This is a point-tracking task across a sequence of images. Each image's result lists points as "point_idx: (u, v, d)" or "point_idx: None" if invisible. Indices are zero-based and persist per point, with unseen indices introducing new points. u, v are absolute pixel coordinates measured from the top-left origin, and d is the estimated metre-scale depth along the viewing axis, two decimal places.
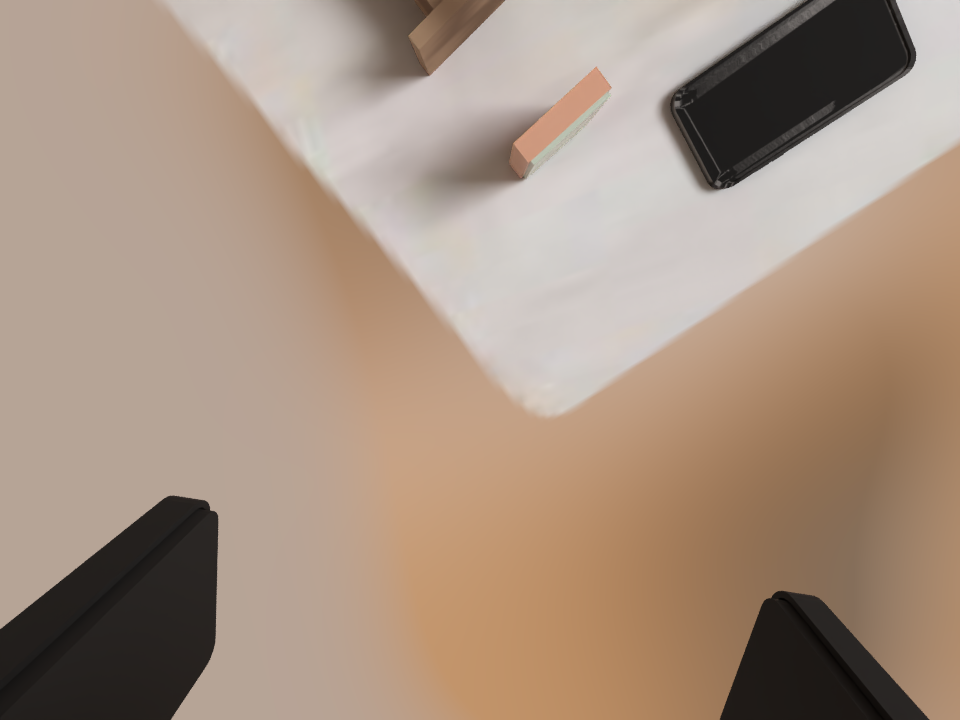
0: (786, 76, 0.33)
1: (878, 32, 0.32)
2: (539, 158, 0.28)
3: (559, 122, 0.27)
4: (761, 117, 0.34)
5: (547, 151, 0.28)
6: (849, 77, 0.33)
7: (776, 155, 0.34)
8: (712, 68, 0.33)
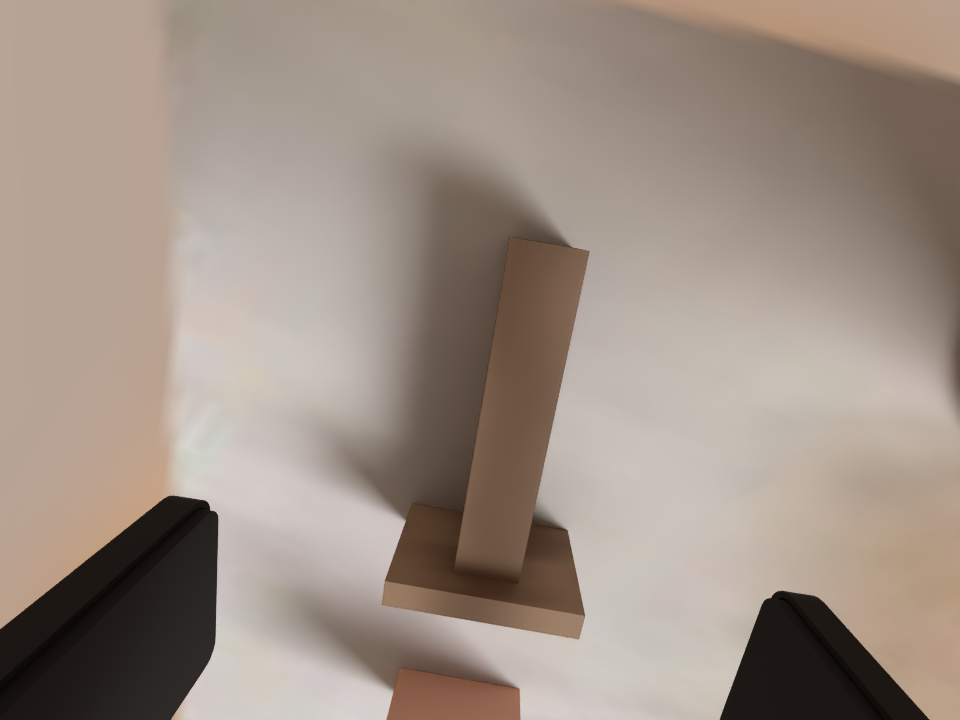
0: None
1: None
2: None
3: None
4: None
5: None
6: None
7: None
8: None
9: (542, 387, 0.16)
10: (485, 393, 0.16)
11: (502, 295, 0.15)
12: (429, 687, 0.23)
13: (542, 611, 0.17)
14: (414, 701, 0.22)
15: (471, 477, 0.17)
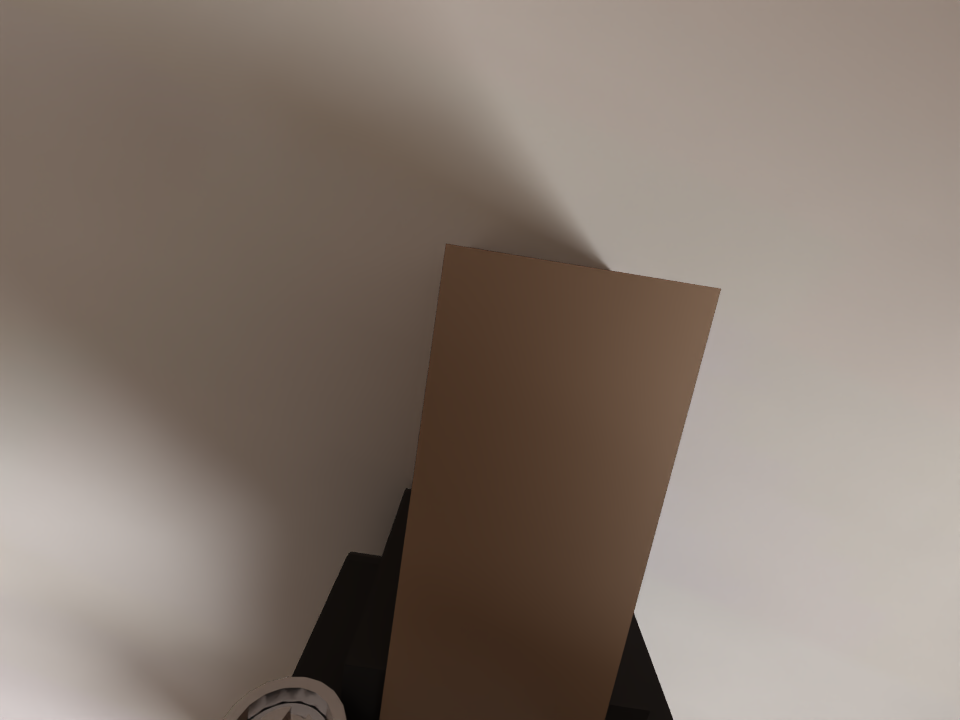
0: None
1: None
2: None
3: None
4: None
5: None
6: None
7: None
8: None
9: (556, 696, 0.05)
10: (384, 709, 0.05)
11: (424, 434, 0.04)
12: None
13: None
14: None
15: None
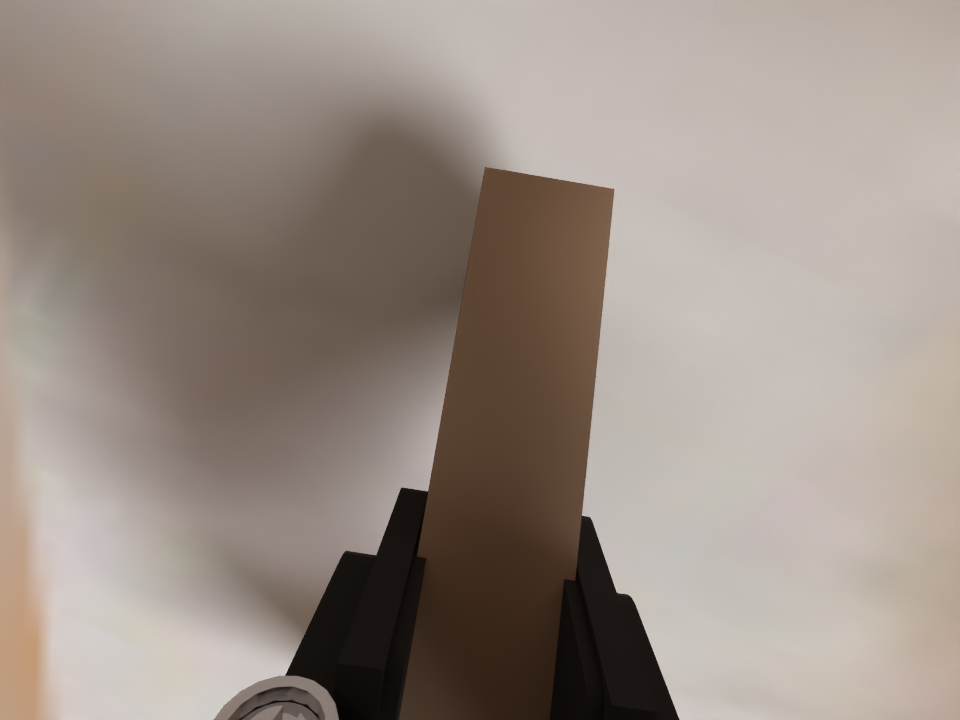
0: None
1: None
2: None
3: None
4: None
5: None
6: None
7: None
8: None
9: (555, 425, 0.08)
10: (439, 441, 0.08)
11: (472, 253, 0.08)
12: None
13: None
14: None
15: None
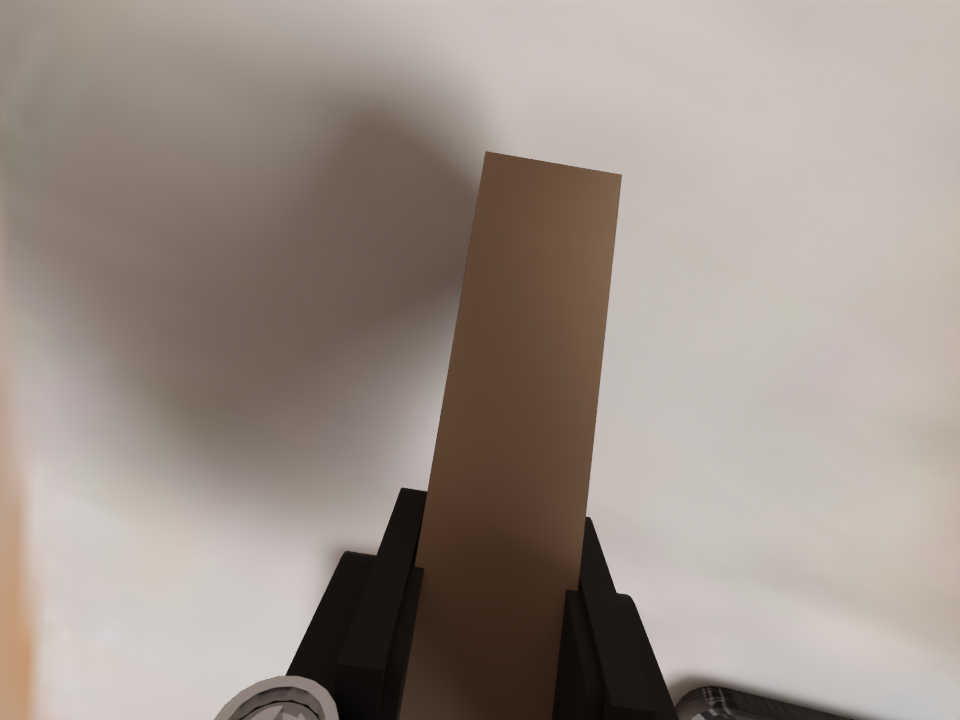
0: None
1: None
2: None
3: None
4: None
5: None
6: None
7: None
8: None
9: (559, 424, 0.07)
10: (439, 441, 0.07)
11: (473, 243, 0.08)
12: None
13: None
14: None
15: None
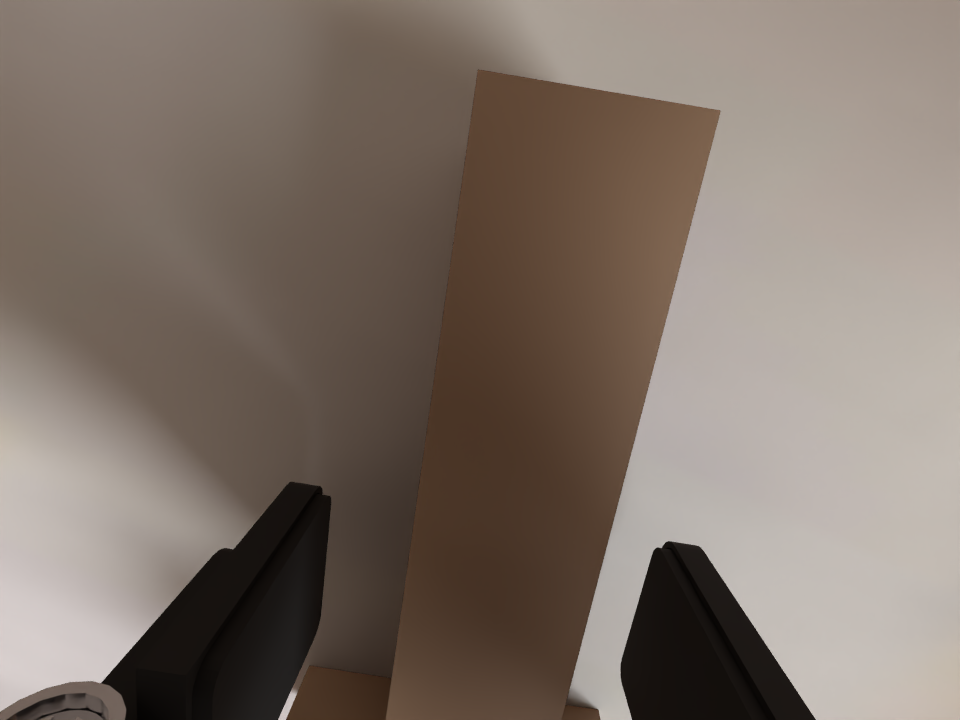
0: None
1: None
2: None
3: None
4: None
5: None
6: None
7: None
8: None
9: (570, 502, 0.06)
10: (418, 518, 0.06)
11: (456, 251, 0.05)
12: None
13: None
14: None
15: (391, 711, 0.07)
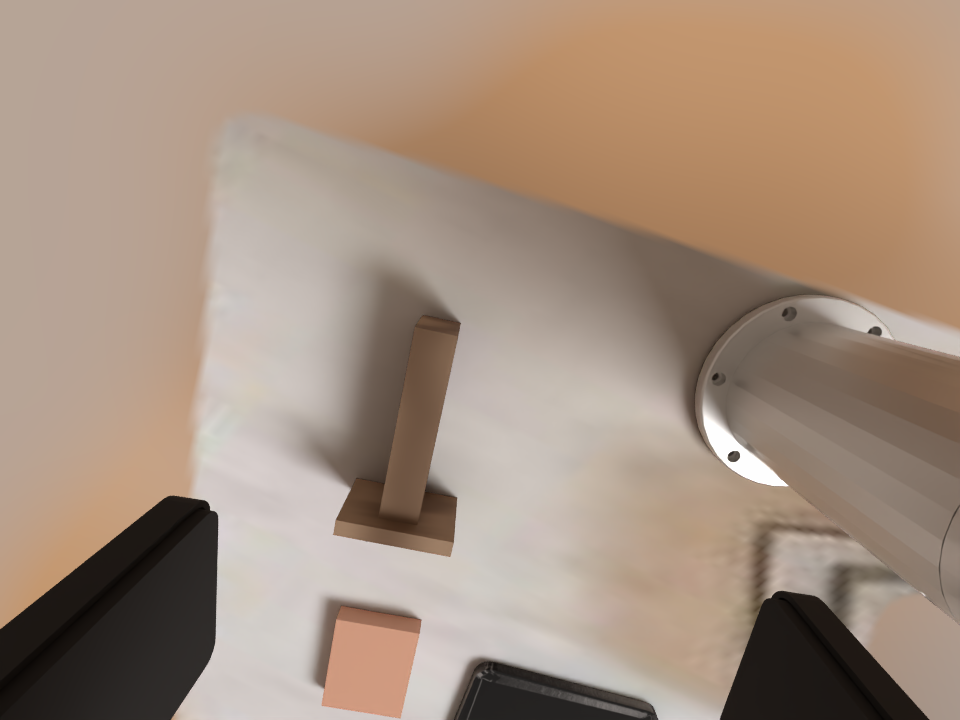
0: None
1: None
2: None
3: None
4: None
5: None
6: None
7: None
8: (520, 678, 0.36)
9: (432, 409, 0.27)
10: (399, 411, 0.27)
11: (409, 357, 0.27)
12: (357, 631, 0.34)
13: (428, 539, 0.28)
14: (347, 639, 0.35)
15: (390, 460, 0.28)
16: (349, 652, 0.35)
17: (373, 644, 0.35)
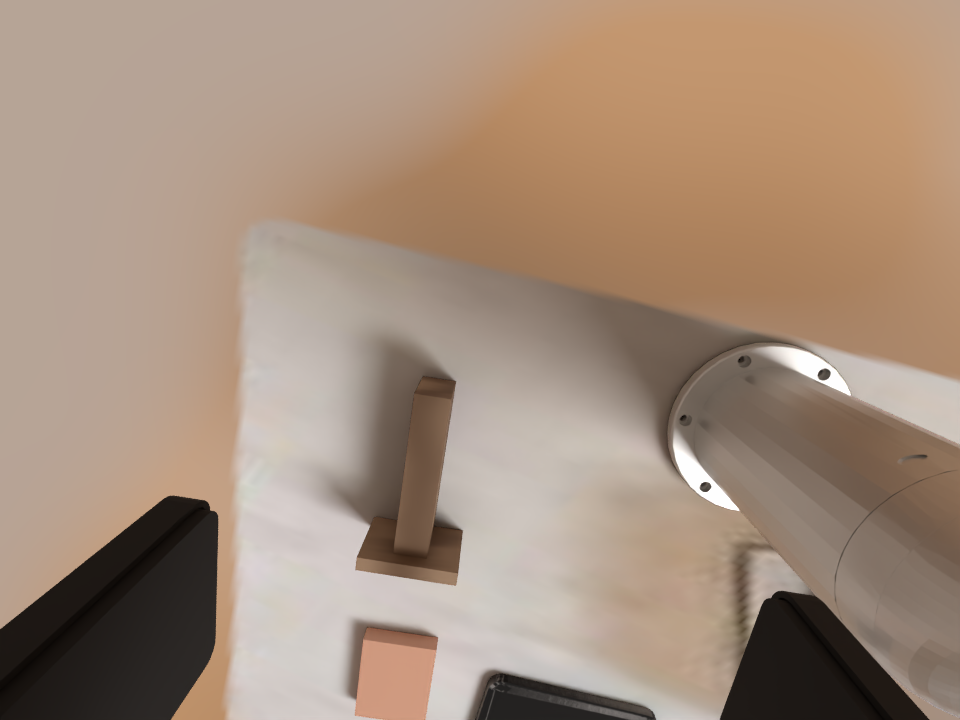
0: None
1: None
2: None
3: None
4: None
5: None
6: None
7: None
8: (529, 688, 0.41)
9: (433, 460, 0.32)
10: (405, 463, 0.32)
11: (411, 418, 0.31)
12: (382, 649, 0.39)
13: (436, 571, 0.33)
14: (374, 657, 0.40)
15: (400, 504, 0.33)
16: (376, 667, 0.40)
17: (396, 660, 0.40)
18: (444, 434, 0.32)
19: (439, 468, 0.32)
